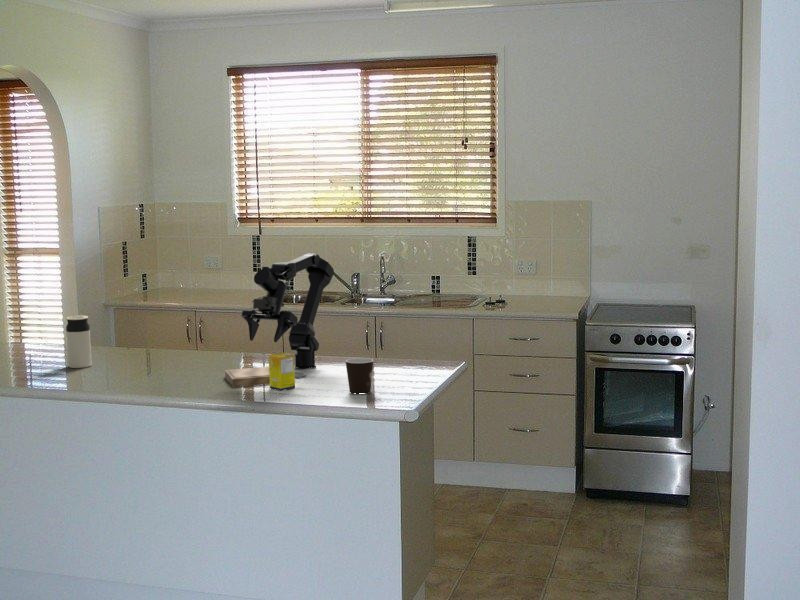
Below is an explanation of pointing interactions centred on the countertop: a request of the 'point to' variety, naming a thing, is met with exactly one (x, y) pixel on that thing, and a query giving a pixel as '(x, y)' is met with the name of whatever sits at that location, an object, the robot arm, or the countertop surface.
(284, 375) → the supplement box
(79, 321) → the travel mug
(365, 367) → the coffee mug
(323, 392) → the countertop surface
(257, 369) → the walnut stand
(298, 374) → the grey coaster
